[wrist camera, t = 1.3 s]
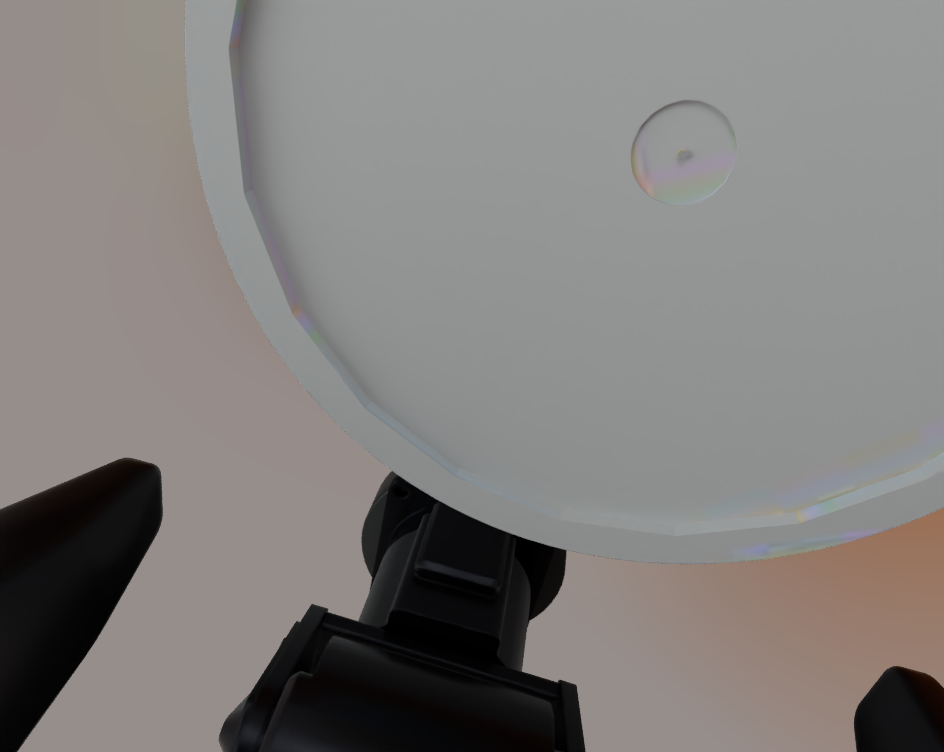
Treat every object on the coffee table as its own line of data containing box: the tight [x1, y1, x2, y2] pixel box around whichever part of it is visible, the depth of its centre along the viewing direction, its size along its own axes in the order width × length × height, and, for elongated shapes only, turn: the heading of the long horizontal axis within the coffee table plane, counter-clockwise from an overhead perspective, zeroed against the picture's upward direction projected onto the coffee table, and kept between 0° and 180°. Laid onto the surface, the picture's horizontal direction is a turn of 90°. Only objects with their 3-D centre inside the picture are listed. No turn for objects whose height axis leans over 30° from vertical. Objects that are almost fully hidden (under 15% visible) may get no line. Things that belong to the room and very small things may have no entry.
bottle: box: [185, 0, 944, 564], centre depth 11 cm, size 7×7×15 cm
